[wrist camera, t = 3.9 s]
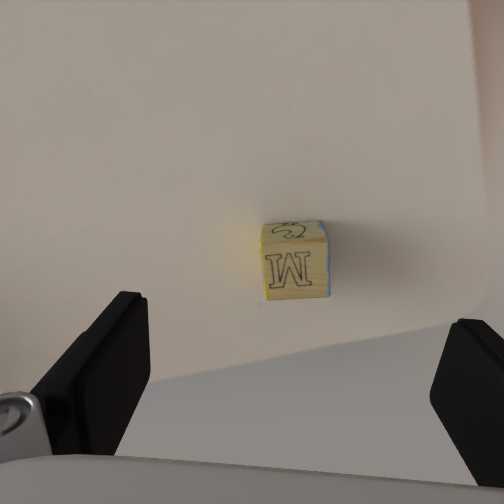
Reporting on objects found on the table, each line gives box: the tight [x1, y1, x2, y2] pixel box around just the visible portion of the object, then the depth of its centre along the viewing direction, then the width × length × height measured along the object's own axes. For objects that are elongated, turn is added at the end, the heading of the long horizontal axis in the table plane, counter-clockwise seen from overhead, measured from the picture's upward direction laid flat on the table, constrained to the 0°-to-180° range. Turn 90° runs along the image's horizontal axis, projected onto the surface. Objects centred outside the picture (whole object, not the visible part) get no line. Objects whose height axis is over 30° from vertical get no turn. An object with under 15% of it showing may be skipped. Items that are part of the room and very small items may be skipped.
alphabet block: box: [260, 221, 331, 300], centre depth 17 cm, size 3×3×3 cm
